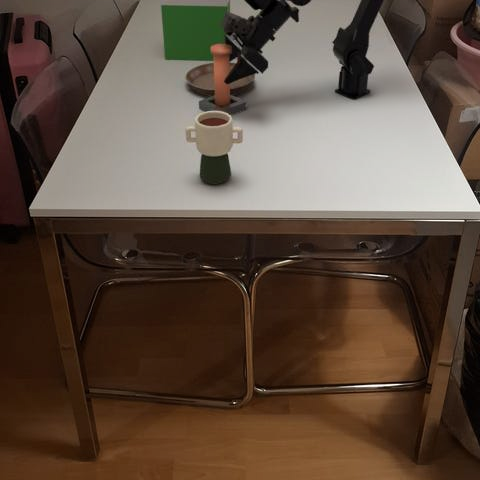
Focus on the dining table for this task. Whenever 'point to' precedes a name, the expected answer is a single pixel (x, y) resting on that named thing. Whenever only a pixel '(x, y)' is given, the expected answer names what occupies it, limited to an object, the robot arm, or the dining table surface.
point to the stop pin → (221, 73)
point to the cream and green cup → (214, 144)
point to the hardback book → (192, 28)
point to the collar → (231, 109)
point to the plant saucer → (204, 80)
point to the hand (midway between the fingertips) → (220, 75)
